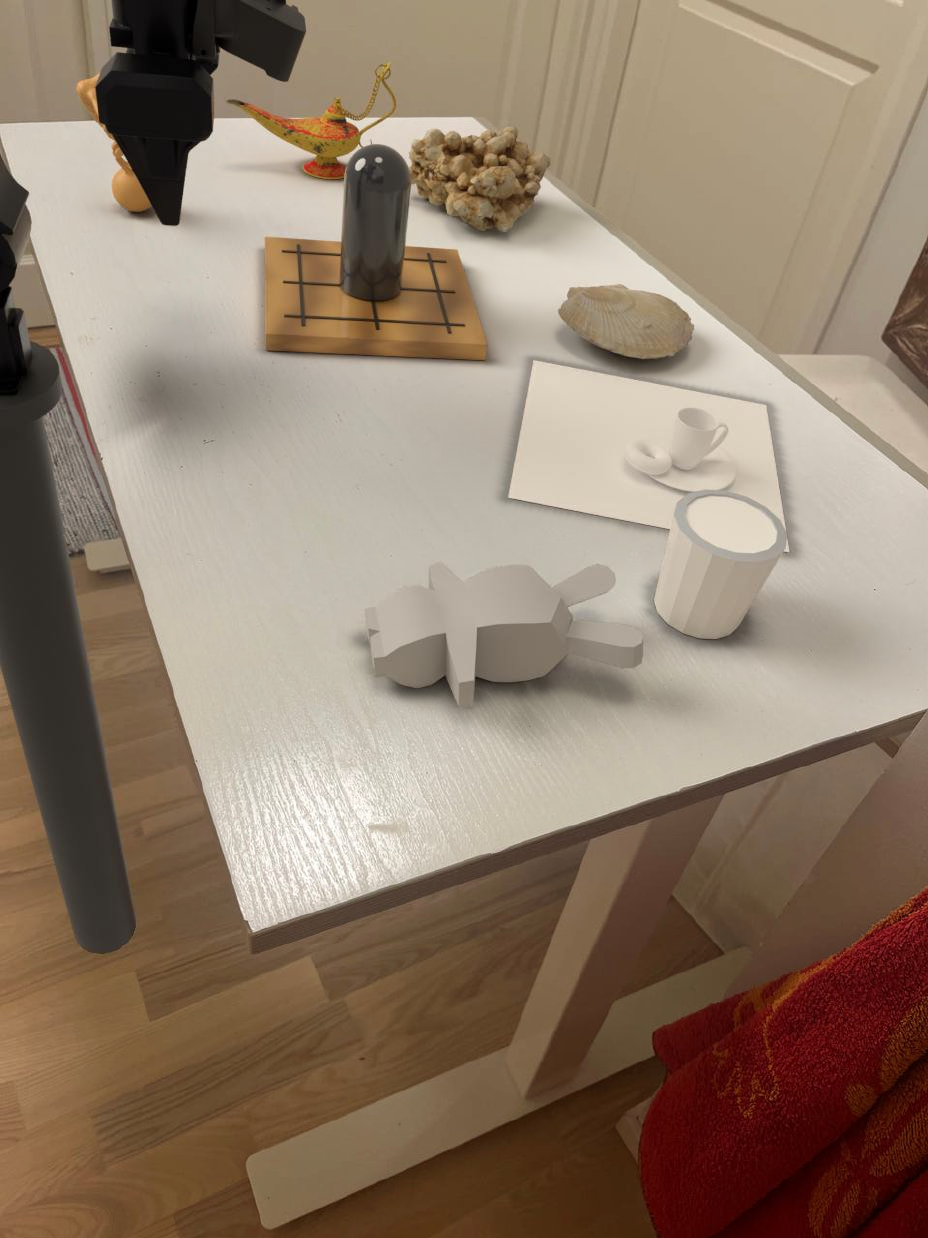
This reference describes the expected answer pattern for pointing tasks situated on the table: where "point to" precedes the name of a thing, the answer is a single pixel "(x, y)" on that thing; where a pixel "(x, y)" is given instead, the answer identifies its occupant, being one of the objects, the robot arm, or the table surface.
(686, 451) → the teacup and saucer
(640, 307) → the seashell
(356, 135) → the magic lamp
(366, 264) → the dark domed cylinder
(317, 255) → the board
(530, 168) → the mineral formation
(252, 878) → the table surface
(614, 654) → the bunny figurine
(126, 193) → the figurine
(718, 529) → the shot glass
